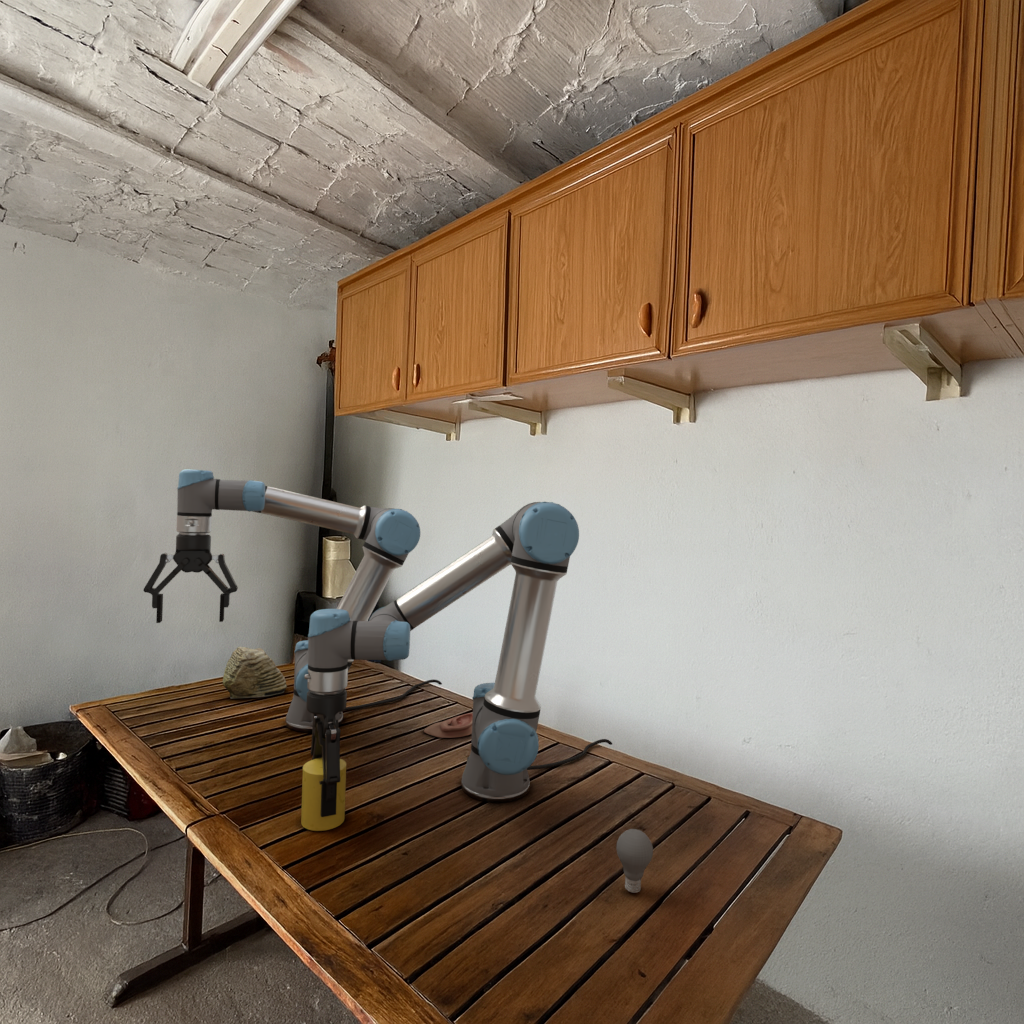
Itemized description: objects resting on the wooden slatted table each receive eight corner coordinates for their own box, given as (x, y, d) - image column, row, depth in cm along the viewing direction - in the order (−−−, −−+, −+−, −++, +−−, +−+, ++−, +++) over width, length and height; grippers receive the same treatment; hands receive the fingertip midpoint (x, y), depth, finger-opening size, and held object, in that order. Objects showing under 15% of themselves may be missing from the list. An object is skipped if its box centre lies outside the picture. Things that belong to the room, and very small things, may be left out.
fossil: (218, 695, 195) (220, 647, 195) (278, 685, 208) (279, 640, 207) (228, 703, 189) (230, 653, 188) (289, 692, 201) (290, 645, 201)
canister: (332, 833, 119) (334, 776, 119) (292, 827, 121) (294, 771, 121) (351, 812, 127) (353, 759, 127) (314, 807, 129) (315, 755, 129)
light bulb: (610, 879, 108) (613, 822, 108) (644, 879, 109) (647, 822, 109) (619, 902, 102) (622, 840, 102) (655, 901, 103) (658, 840, 103)
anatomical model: (420, 720, 170) (434, 707, 181) (419, 735, 170) (433, 721, 181) (467, 726, 167) (478, 712, 179) (467, 741, 167) (478, 726, 179)
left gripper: (131, 533, 145) (128, 625, 146) (248, 535, 153) (245, 623, 154) (138, 531, 152) (136, 619, 153) (250, 533, 160) (247, 617, 161)
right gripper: (298, 677, 131) (294, 785, 132) (318, 708, 113) (314, 834, 113) (334, 673, 135) (331, 779, 135) (360, 703, 116) (356, 825, 117)
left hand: (190, 621), depth 153 cm, fingers open, 13 cm apart
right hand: (323, 804), depth 124 cm, fingers closed on canister, 8 cm apart
